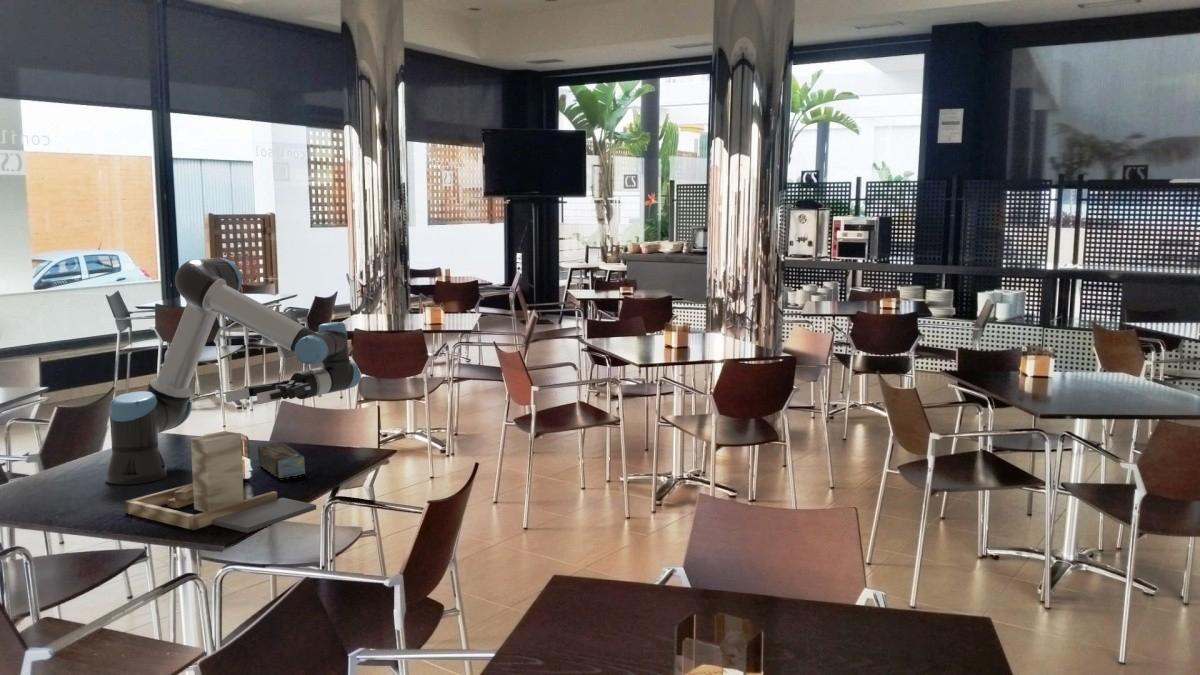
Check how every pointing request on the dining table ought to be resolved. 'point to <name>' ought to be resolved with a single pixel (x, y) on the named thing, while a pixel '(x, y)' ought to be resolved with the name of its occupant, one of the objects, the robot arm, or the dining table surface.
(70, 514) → the dining table surface
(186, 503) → the offcut lower
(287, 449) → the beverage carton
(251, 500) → the wooden frame
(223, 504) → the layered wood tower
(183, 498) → the offcut upper
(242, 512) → the slate board
